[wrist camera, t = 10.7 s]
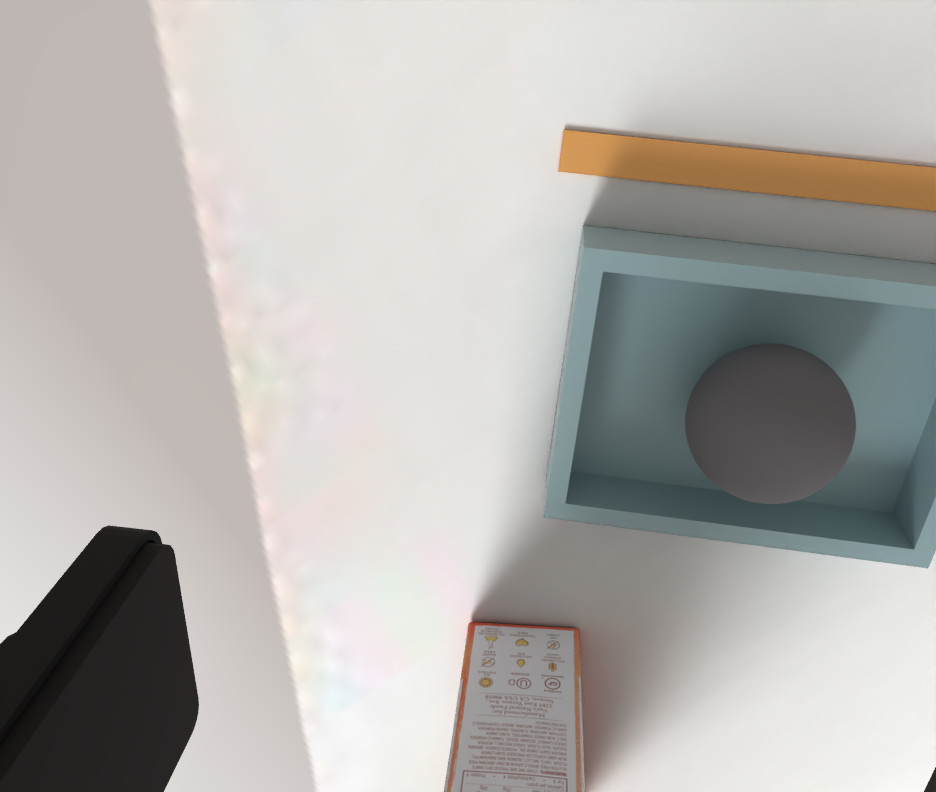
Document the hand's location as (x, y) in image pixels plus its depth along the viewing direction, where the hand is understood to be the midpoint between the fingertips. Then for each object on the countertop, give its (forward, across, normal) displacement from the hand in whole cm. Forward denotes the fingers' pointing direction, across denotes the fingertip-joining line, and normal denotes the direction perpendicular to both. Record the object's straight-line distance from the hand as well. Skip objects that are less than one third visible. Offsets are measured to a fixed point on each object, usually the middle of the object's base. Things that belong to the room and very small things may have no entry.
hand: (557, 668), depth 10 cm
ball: (+24, -8, +8) cm, 26 cm away
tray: (+24, -8, +6) cm, 26 cm away
